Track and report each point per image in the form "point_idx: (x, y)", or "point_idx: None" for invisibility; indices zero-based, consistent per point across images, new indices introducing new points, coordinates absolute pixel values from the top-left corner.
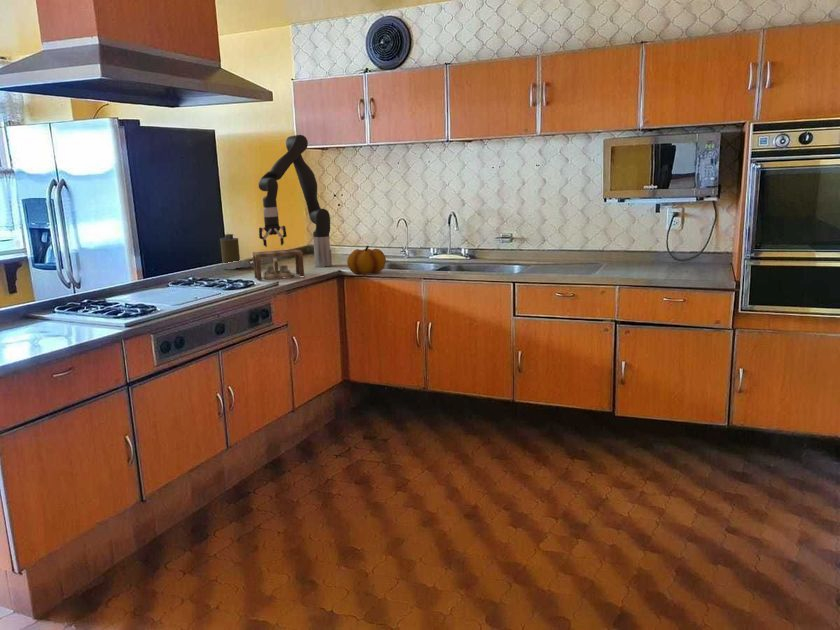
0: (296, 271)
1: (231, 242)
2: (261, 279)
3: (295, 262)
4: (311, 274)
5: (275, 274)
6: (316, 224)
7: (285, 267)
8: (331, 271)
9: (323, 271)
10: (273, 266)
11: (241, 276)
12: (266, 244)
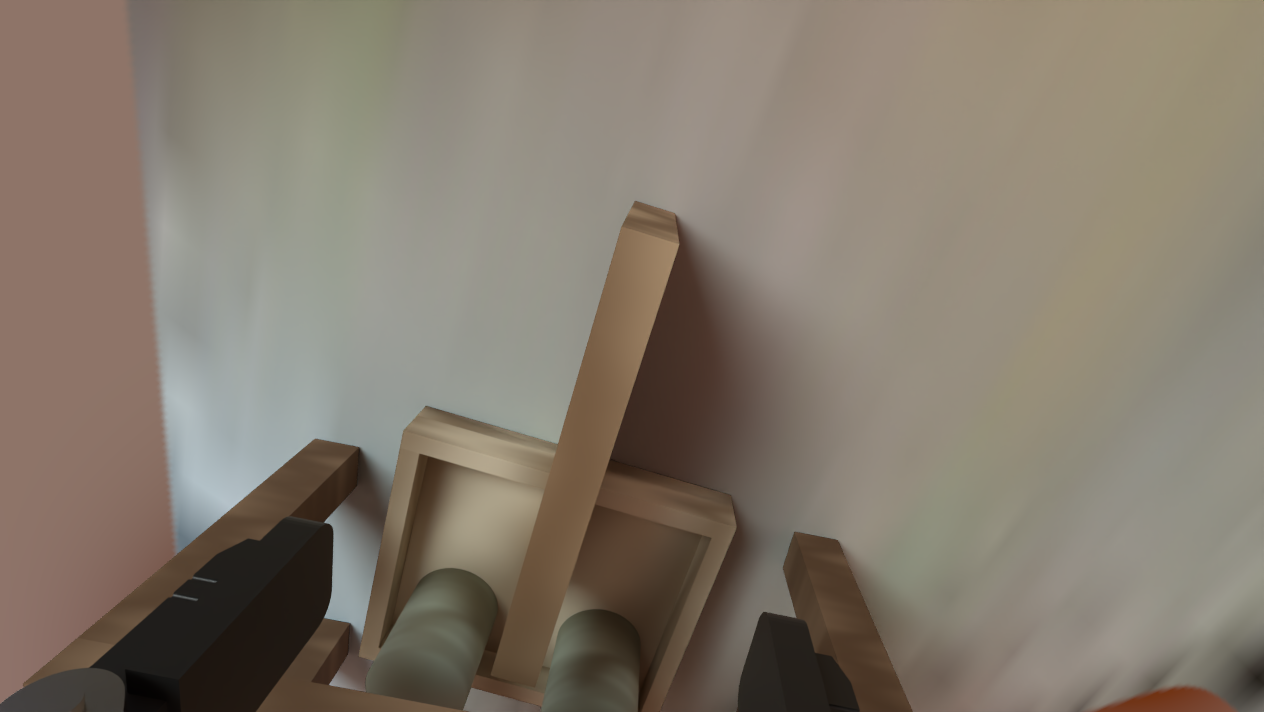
0: (793, 581)
1: None
2: (340, 662)
3: (827, 643)
4: (912, 649)
5: (485, 685)
6: None
7: None
8: (1204, 617)
9: (1145, 557)
10: (464, 693)
11: (174, 228)
12: (286, 661)
